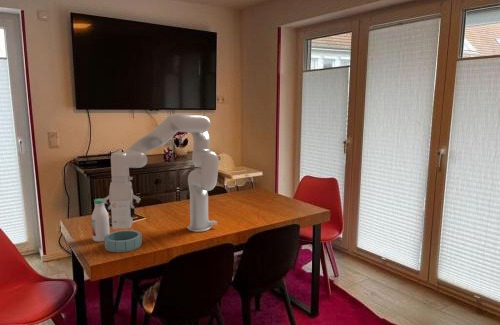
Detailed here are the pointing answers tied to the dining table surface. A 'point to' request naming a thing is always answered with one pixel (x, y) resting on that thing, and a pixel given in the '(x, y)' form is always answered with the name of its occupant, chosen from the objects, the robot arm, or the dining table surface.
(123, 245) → the bowl
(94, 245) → the dining table surface
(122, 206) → the small box
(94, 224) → the milk bottle
